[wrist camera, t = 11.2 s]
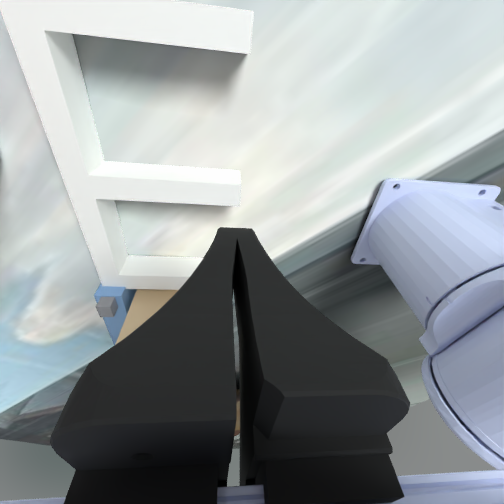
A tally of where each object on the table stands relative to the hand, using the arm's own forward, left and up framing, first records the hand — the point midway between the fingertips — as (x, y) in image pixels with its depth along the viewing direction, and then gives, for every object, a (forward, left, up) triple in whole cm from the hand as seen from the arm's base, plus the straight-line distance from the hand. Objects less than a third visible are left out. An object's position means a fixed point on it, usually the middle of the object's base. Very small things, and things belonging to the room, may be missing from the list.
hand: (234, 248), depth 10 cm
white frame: (+4, +5, -9) cm, 11 cm away
